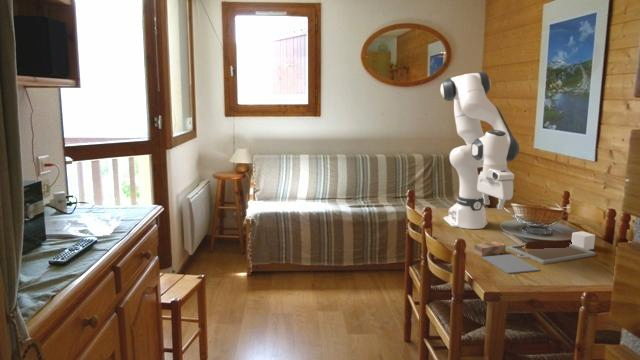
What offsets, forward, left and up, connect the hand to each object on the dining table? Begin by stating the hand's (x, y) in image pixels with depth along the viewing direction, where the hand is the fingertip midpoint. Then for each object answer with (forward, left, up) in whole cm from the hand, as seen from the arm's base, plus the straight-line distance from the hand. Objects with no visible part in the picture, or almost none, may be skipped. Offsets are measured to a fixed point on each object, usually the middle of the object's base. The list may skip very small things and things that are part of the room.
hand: (493, 206), depth 191 cm
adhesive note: (+3, +41, -19) cm, 45 cm away
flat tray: (+5, +23, -20) cm, 31 cm away
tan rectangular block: (0, 0, -19) cm, 19 cm away
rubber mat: (+13, 0, -19) cm, 23 cm away
